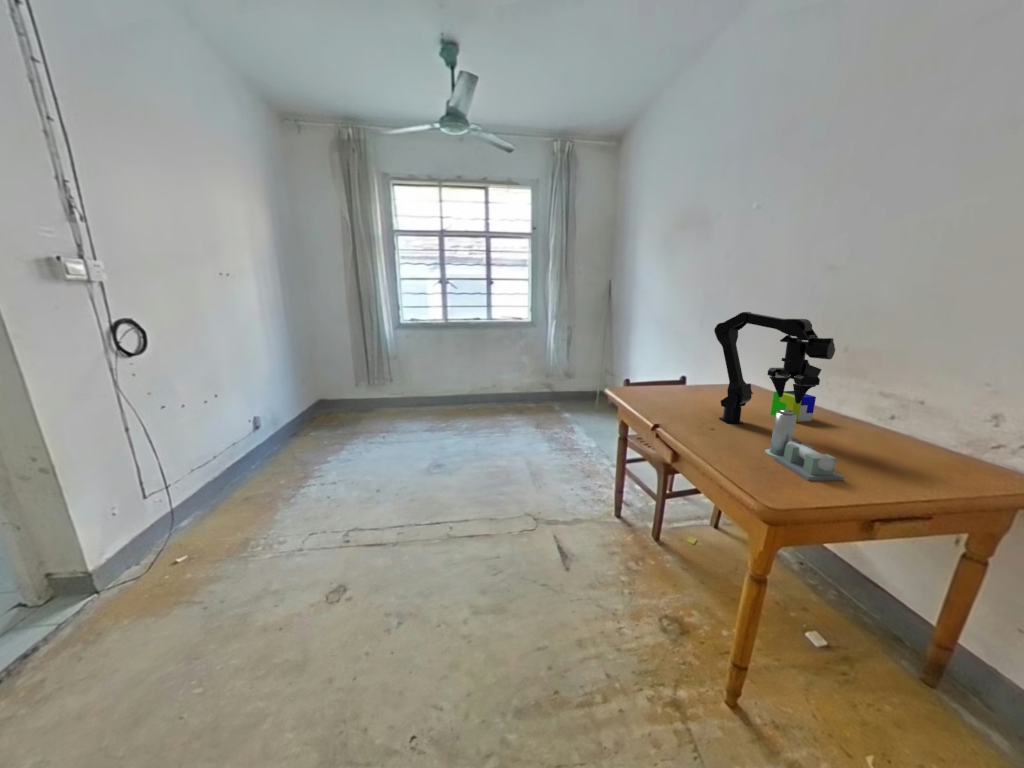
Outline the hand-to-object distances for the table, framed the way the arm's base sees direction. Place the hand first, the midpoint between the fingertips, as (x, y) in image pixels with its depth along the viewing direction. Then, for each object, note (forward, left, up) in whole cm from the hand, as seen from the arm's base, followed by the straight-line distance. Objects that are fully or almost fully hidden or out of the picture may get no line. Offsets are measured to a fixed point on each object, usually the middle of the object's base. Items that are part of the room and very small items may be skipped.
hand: (788, 400), depth 144 cm
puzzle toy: (-21, +18, -14) cm, 31 cm away
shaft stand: (+28, -13, -13) cm, 34 cm away
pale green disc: (+17, -13, -13) cm, 25 cm away
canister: (+16, -13, -13) cm, 25 cm away
